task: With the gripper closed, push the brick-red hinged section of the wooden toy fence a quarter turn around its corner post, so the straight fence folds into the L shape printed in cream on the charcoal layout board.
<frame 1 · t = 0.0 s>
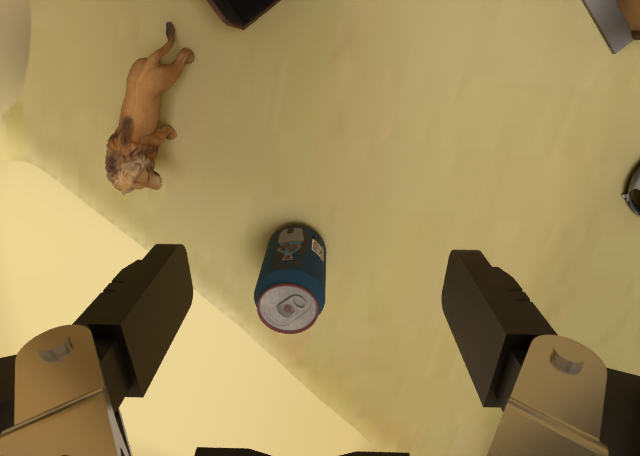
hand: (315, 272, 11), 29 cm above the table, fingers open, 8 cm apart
soda can: (297, 245, 45), on the table
lion figurine: (168, 107, 38), on the table
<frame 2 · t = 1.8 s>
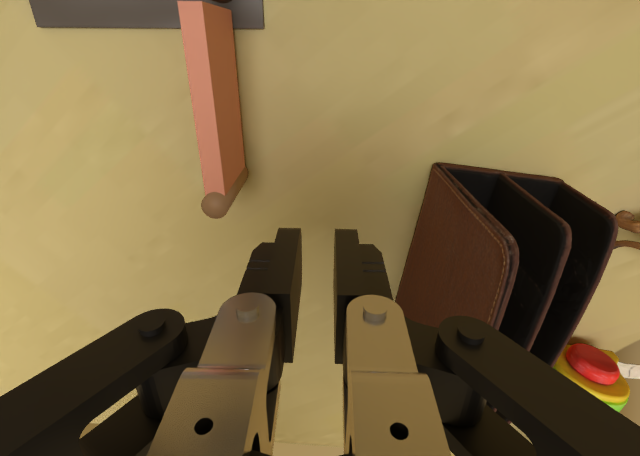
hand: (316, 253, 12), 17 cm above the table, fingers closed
toy measuring tape: (593, 360, 38), on the table
swing panel: (218, 113, 23), point 4 cm above the table, hinge at 0.0°
letter holder: (456, 272, 33), on the table
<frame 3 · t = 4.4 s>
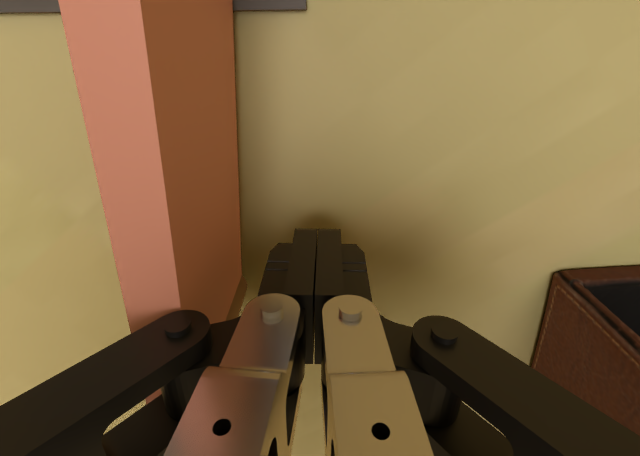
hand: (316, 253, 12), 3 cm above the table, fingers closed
swing panel: (190, 204, 10), point 4 cm above the table, hinge at 4.4°, touching gripper
letter holder: (603, 411, 20), on the table
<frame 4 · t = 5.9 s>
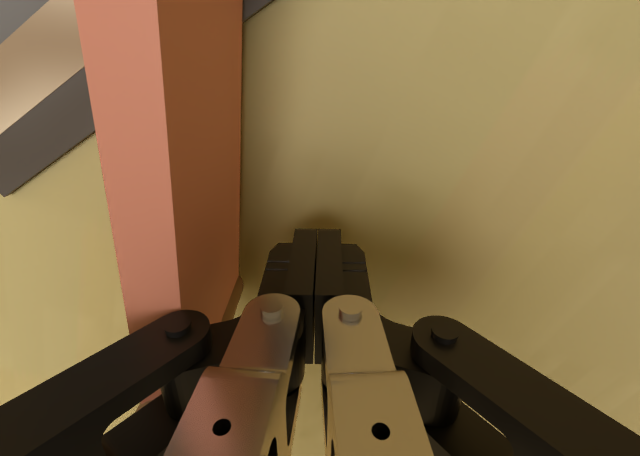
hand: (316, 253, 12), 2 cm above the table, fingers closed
swing panel: (192, 204, 10), point 4 cm above the table, hinge at 37.6°, touching gripper
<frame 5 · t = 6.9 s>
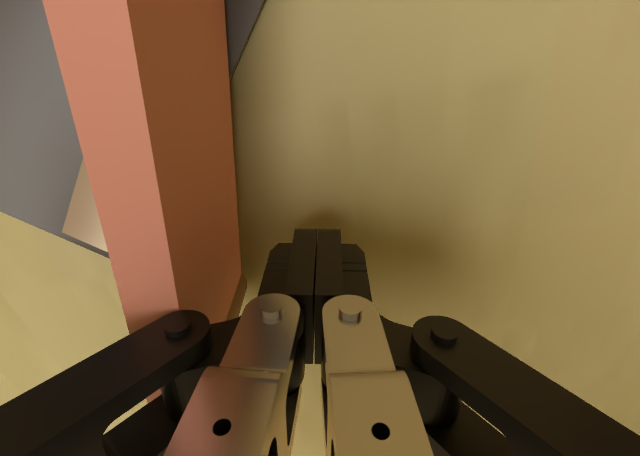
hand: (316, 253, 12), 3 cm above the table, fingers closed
swing panel: (186, 205, 10), point 4 cm above the table, hinge at 62.4°, touching gripper
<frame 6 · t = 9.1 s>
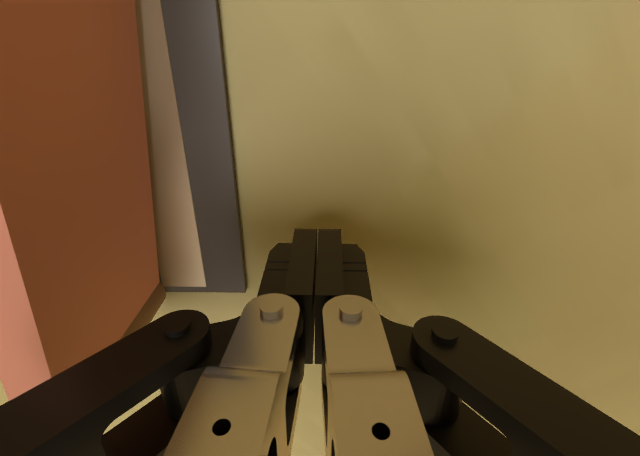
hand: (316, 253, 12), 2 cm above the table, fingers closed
swing panel: (76, 213, 10), point 4 cm above the table, hinge at 96.6°
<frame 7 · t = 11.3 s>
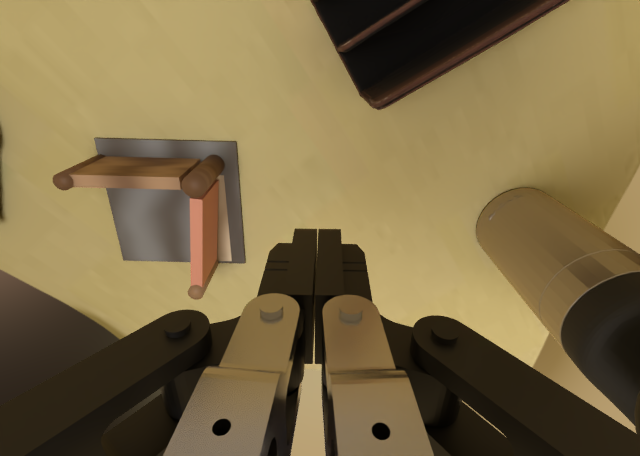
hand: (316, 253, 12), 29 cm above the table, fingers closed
swing panel: (204, 238, 40), point 4 cm above the table, hinge at 96.6°
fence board: (215, 163, 40), on the table
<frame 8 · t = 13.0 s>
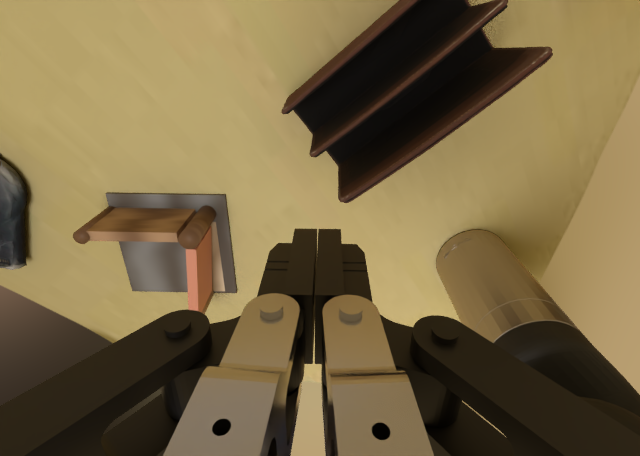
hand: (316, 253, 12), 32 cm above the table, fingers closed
swing panel: (199, 276, 47), point 4 cm above the table, hinge at 96.6°
letter holder: (385, 76, 40), on the table
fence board: (208, 212, 47), on the table
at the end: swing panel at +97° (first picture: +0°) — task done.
